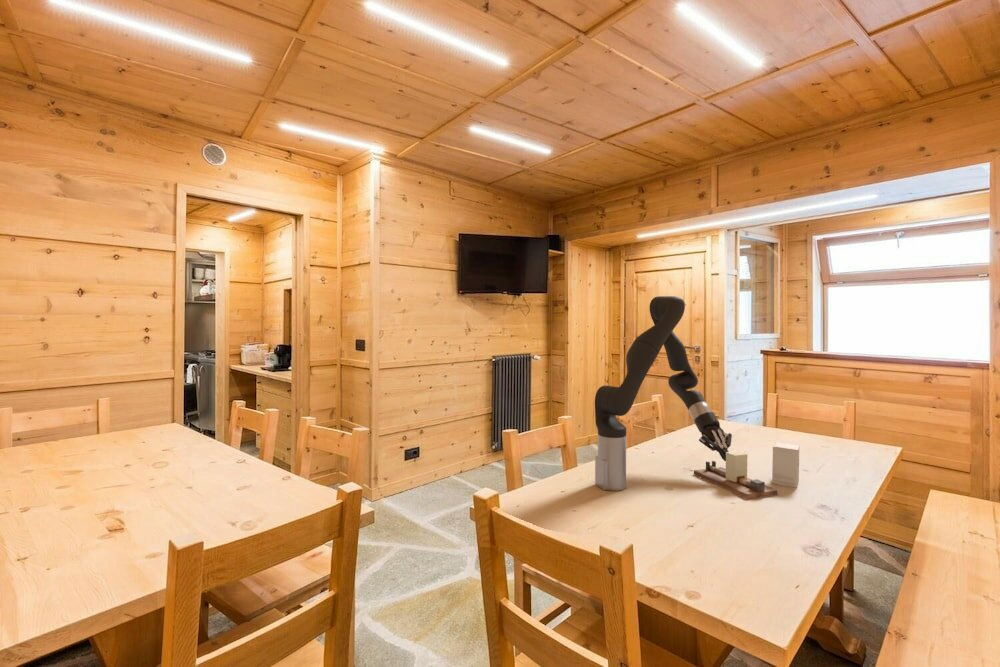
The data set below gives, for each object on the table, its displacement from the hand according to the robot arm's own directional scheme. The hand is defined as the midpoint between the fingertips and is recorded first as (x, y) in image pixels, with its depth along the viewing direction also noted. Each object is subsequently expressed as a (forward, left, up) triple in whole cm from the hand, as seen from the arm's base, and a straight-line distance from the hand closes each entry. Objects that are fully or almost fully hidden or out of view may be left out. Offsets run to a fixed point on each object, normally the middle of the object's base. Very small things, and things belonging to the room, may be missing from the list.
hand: (728, 460), depth 158 cm
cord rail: (0, -2, -7) cm, 8 cm away
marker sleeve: (0, -4, -5) cm, 7 cm away
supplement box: (+18, -6, -8) cm, 21 cm away
